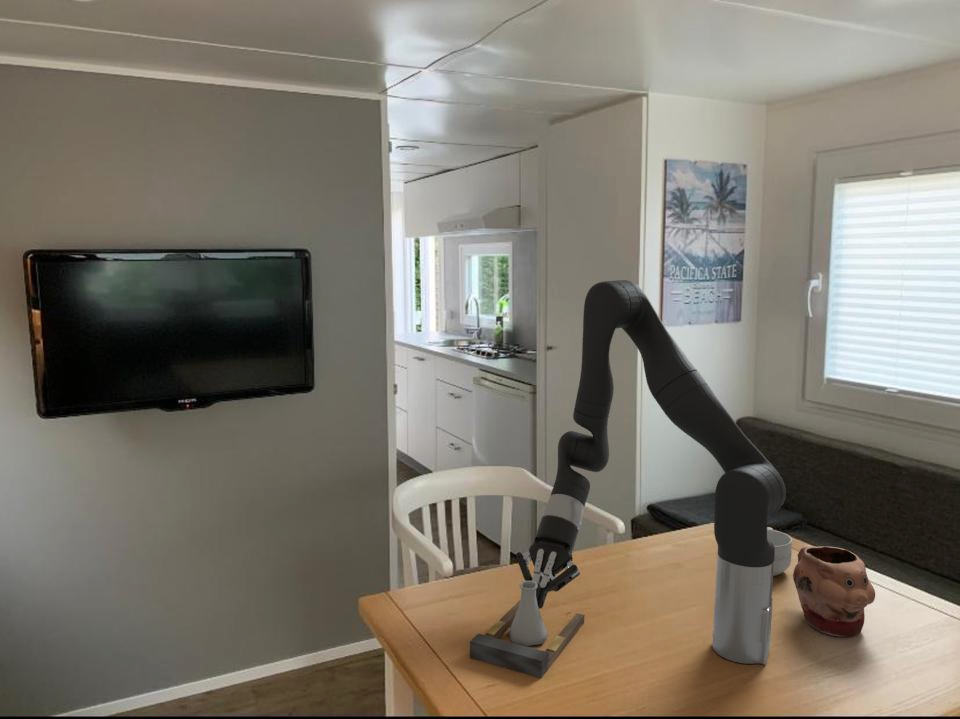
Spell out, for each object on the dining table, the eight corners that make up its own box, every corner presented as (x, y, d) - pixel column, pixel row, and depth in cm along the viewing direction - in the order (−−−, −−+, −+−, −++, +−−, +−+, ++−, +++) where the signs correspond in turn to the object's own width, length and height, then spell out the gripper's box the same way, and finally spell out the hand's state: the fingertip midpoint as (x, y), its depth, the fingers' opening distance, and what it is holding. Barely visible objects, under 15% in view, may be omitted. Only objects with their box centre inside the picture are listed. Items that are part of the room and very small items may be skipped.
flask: (548, 626, 137) (549, 576, 135) (547, 648, 130) (548, 595, 128) (509, 624, 137) (509, 574, 136) (506, 646, 130) (506, 593, 129)
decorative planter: (765, 601, 149) (770, 535, 147) (817, 595, 152) (822, 530, 150) (835, 652, 130) (841, 576, 128) (893, 644, 132) (900, 570, 131)
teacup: (782, 585, 156) (784, 549, 155) (730, 572, 163) (733, 537, 162) (799, 564, 167) (802, 530, 166) (750, 552, 174) (753, 520, 173)
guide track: (584, 623, 139) (584, 607, 139) (541, 678, 120) (541, 660, 120) (519, 607, 145) (520, 592, 144) (469, 657, 126) (470, 641, 126)
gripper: (524, 508, 144) (494, 592, 135) (588, 520, 138) (562, 609, 129) (534, 525, 149) (506, 607, 140) (596, 538, 143) (572, 625, 134)
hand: (533, 608), depth 135 cm, fingers closed
